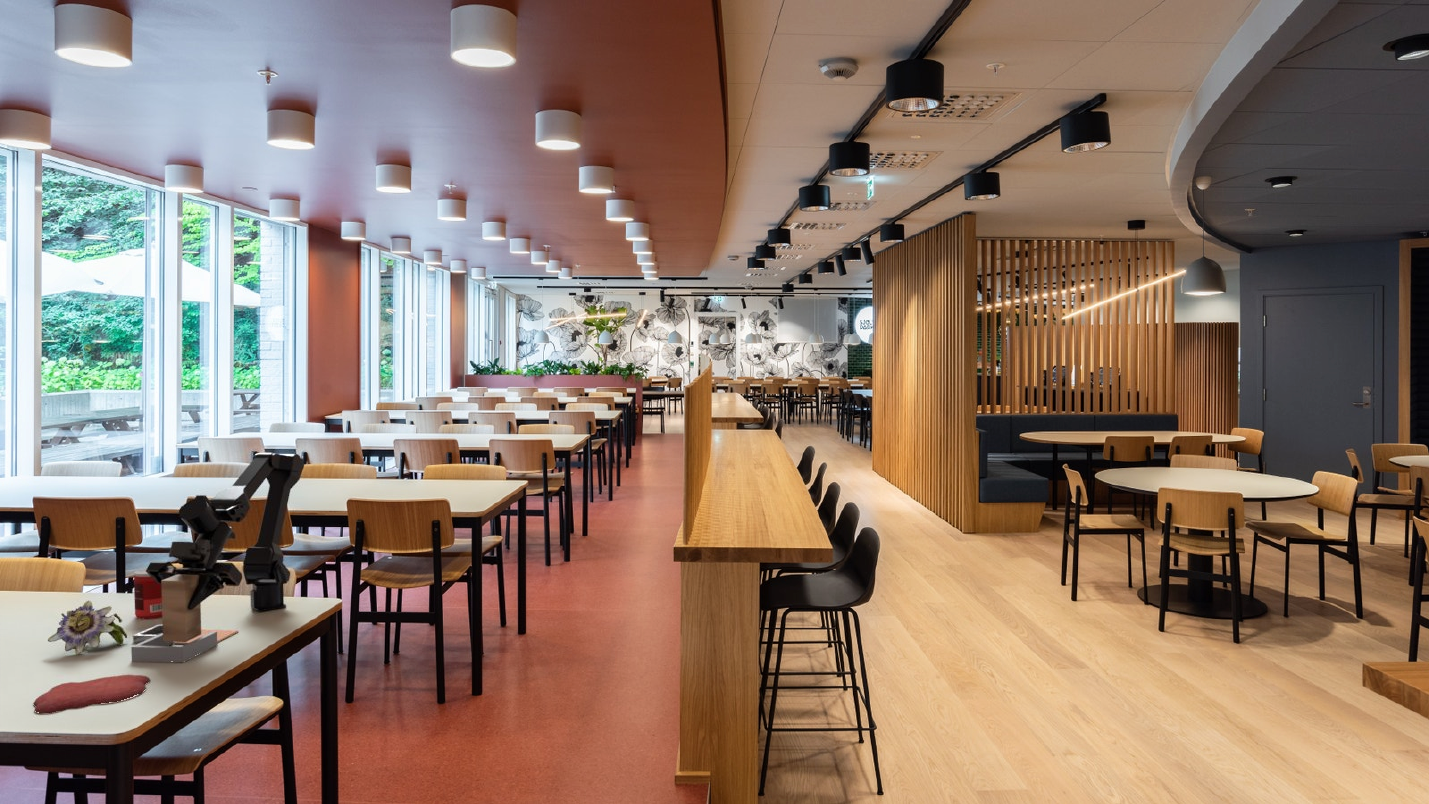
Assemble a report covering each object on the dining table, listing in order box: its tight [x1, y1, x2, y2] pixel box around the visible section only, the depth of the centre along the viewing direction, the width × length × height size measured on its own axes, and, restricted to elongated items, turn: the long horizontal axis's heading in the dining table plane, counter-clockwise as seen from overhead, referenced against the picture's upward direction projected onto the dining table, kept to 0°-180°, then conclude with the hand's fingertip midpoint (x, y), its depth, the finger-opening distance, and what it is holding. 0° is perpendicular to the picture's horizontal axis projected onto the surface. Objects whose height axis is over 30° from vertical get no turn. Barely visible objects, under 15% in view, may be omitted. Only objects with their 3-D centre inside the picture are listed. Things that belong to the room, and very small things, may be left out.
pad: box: [172, 629, 239, 645], centre depth 194 cm, size 9×9×1 cm
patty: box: [32, 674, 151, 714], centre depth 161 cm, size 18×14×2 cm
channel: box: [131, 632, 218, 663], centre depth 184 cm, size 11×11×3 cm
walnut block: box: [161, 574, 202, 642], centre depth 185 cm, size 5×5×13 cm
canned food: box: [133, 567, 162, 620], centre depth 211 cm, size 8×8×11 cm
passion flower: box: [47, 600, 128, 656], centre depth 187 cm, size 11×11×12 cm
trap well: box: [132, 623, 163, 643], centre depth 194 cm, size 8×8×2 cm
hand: (177, 608), depth 184 cm, fingers closed on walnut block, 5 cm apart
